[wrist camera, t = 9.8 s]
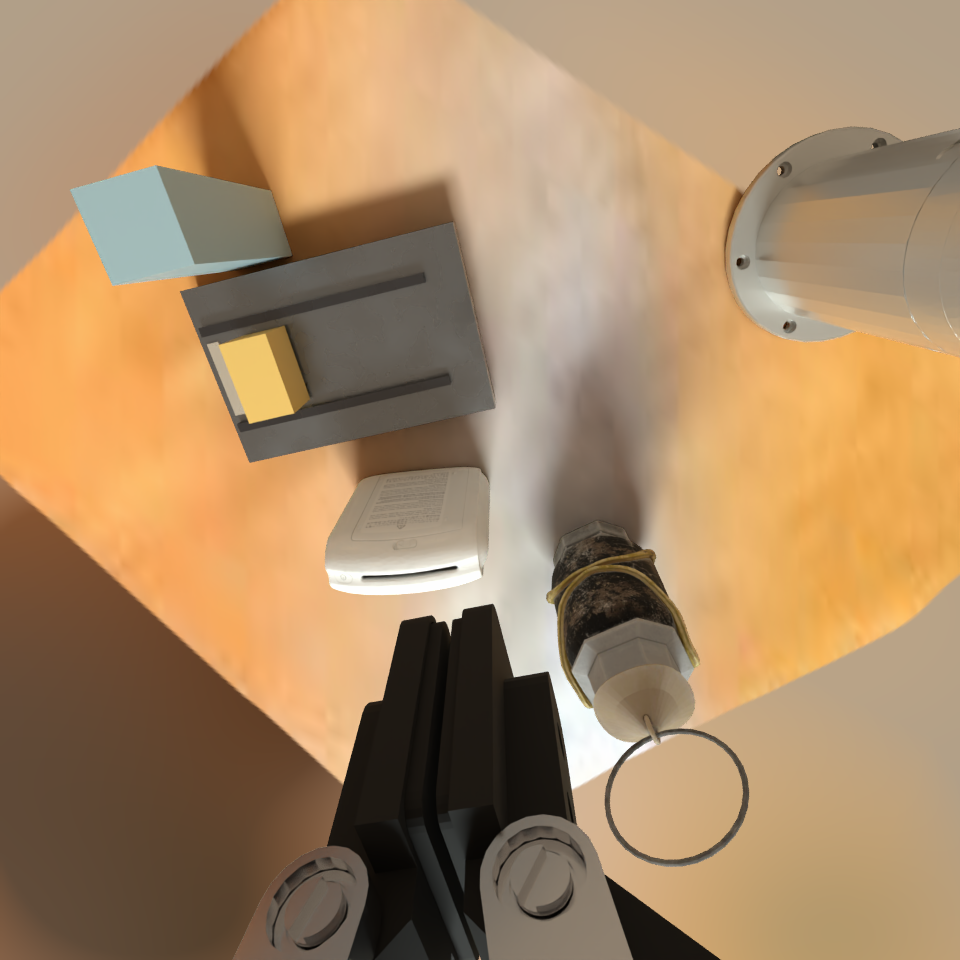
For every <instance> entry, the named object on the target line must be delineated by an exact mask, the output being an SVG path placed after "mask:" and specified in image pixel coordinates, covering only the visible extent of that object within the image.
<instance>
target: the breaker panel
mask: <svg viewBox="0 0 960 960" xmlns="http://www.w3.org/2000/svg"><path fill="white" fill-rule="evenodd" d="M180 293H181V295H182V298H183V300H184V302H185V305H186V307H187V310H188V312H189V315H190V317H191V320H192V322H193V325H194V327H195V330H196V332H197V334H198V337H199V339H200V342H201V344H202V347H203V349H204V352H205V354H206V357H207V359H208V362H209V364H210V366H211V369H212V371H213V374H214V376H215V379H216V381H217V384H218V386H219V389H220V391H221V394H222V396H223V398H224V401H225V403H226V406H227V408H228V411H229V413H230V416H231V418H232V421H233V423H234V426H235V428H236V430H237V433H238V435H239V438H240V440H241V443H242V445H243V448H244V450H245V453H246V455H247V457H248V460H249V462H250V463H251V462H255V461H260V460H264V459H269V458H273V457H278V456H282V455H287V454H291V453H296V452H300V451H305V450H309V449H314V448H318V447H323V446H327V445H332V444H336V443H341V442H345V441H350V440H354V439H359V438H363V437H368V436H372V435H377V434H381V433H386V432H390V431H395V430H399V429H404V428H408V427H413V426H418V425H422V424H427V423H431V422H436V421H440V420H445V419H449V418H454V417H458V416H463V415H467V414H472V413H476V412H481V411H485V410H490V409H494V408H495V396H494V392H493V388H492V383H491V379H490V375H489V370H488V366H487V361H486V357H485V353H484V348H483V344H482V339H481V335H480V331H479V326H478V322H477V318H476V313H475V309H474V304H473V300H472V296H471V291H470V287H469V282H468V278H467V274H466V269H465V265H464V261H463V256H462V252H461V247H460V243H459V239H458V234H457V230H456V226H455V223H454V222H450V223H446V224H442V225H438V226H434V227H430V228H426V229H422V230H419V231H415V232H411V233H407V234H403V235H399V236H395V237H391V238H387V239H383V240H379V241H376V242H372V243H368V244H364V245H360V246H356V247H352V248H348V249H344V250H340V251H337V252H333V253H329V254H325V255H321V256H317V257H313V258H309V259H305V260H301V261H297V262H294V263H290V264H286V265H282V266H278V267H274V268H270V269H266V270H262V271H258V272H254V273H251V274H247V275H243V276H239V277H235V278H231V279H227V280H223V281H219V282H215V283H212V284H208V285H204V286H200V287H196V288H192V289H188V290H184V291H180ZM281 326H285V329H286V331H287V334H288V337H289V340H290V343H291V346H292V349H293V351H294V354H295V357H296V360H297V363H298V366H299V369H300V371H301V374H302V377H303V380H304V383H305V386H306V389H307V392H308V394H309V397H310V400H309V401H308V402H306V403H305V404H304V405H303V406H302V407H301V408H300V409H299V410H298V411H296V412H295V413H294V414H289V415H285V416H281V417H276V418H272V419H267V420H263V421H259V422H254V423H250V424H249V422H248V419H247V417H246V414H245V411H244V409H243V406H242V404H241V401H240V399H239V396H238V394H237V391H236V389H235V386H234V384H233V381H232V379H231V376H230V374H229V371H228V369H227V366H226V363H225V361H224V358H223V356H222V353H221V351H220V348H219V346H218V345H220V344H222V343H225V342H228V341H230V340H233V339H235V338H238V337H240V336H244V335H248V334H252V333H256V332H260V331H264V330H268V329H272V328H276V327H281Z"/></svg>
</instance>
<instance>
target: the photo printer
mask: <svg viewBox="0 0 960 960" xmlns="http://www.w3.org/2000/svg"><path fill="white" fill-rule="evenodd" d="M489 509H490V486H489V482H488V480H487V478H486V477H485V476H484V474H483V473H482V472H481V469H479V468H474V467H454V468H440V469H429V470H418V471H408V472H398V473H389V474H382V475H376V476H371V477H368V478H364V479H362V480H361V481H360V482H359V484H358V485H357V487H356V489H355V491H354V493H353V495H352V496H351V498H350V500H349V502H348V504H347V505H346V507H345V509H344V511H343V513H342V514H341V516H340V518H339V520H338V521H337V523H336V525H335V527H334V529H333V530H332V532H331V534H330V536H329V538H328V541H327V545H326V551H325V568H326V571H327V572H328V576H329V584H330V585H331V587H332V588H334V589H336V590H339V591H343V592H348V593H354V594H368V595H392V594H407V593H419V592H426V591H433V590H439V589H445V588H449V587H454V586H458V585H462V584H465V583H468V582H471V581H473V580H476V579H478V578H480V577H482V576H483V566H484V563H485V561H486V558H487V555H488V541H489Z"/></svg>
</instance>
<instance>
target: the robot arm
mask: <svg viewBox="0 0 960 960" xmlns="http://www.w3.org/2000/svg"><path fill="white" fill-rule="evenodd" d="M872 145H873V146H874V148H873V149H871V147H872ZM778 167H780V168H781V170H782V171H781V174H780V175H779V176H778V174H777V169H778ZM725 258H726V273H727V277H728V282H729V287H730V289H731V291H732V294H733V296H734V298H735V300H736V303H737V304H738V306H739V307H740V308H741V310H742V311H743V312H744V314H745V315H746V316H747V317H748V318H749V319H750V320H751V321H752V322H754V323H755V324H756V325H757V326H758V327H760V328H762V329H764V330H765V331H767V332H769V333H771V334H773V335H776V336H778V337H781V338H784V339H788V340H794V341H800V342H823V341H827V340H832V339H836V338H841V337H843V336H846V335H848V334H851V333H853V332H856V331H857V332H861V333H865V334H869V335H873V336H877V337H881V338H885V339H889V340H893V341H897V342H901V343H905V344H909V345H913V346H917V347H921V348H925V349H929V350H932V351H936V352H940V353H945V354H948V355H952V356H956V357H960V128H959V129H956V130H951V131H947V132H943V133H938V134H934V135H930V136H925V137H921V138H917V139H913V140H908V141H904V142H903V141H901V140H899V139H898V138H896V137H895V136H893V135H891V134H889V133H886V132H883V131H879V130H876V129H873V128H863V127H847V128H839V129H833V130H828V131H825V132H822V133H819V134H815V135H813V136H810V137H808V138H806V139H804V140H802V141H800V142H797V143H795V144H793V145H792V146H790V147H789V148H787V149H786V150H785V151H784V152H782V153H780V154H779V155H778V156H776V157H775V158H774V159H773V160H772V161H771V162H770V163H769V164H768V165H766V166H765V167H764V168H763V169H762V170H761V171H760V172H759V173H758V175H757V176H756V177H755V179H754V180H753V181H752V183H751V184H750V185H749V187H748V188H747V189H746V191H745V193H744V194H743V196H742V198H741V200H740V202H739V204H738V206H737V208H736V210H735V212H734V215H733V218H732V221H731V224H730V227H729V230H728V236H727V243H726V249H725ZM738 258H740V259H741V264H740V265H739V266H737V265H736V262H737V259H738ZM785 322H787V326H786V327H785V328H783V325H784V324H785ZM479 955H480V957H481V960H720V959H719V958H718V957H716V956H715V955H714V954H712V953H711V952H709V951H708V950H707V949H705V948H704V947H703V946H701V945H700V944H699V943H697V942H696V941H694V940H693V939H692V938H690V937H689V936H688V935H686V934H685V933H683V932H682V931H681V930H680V929H678V928H677V927H675V926H674V925H673V924H671V923H670V922H669V921H667V920H666V919H665V918H663V917H662V916H660V915H659V914H658V913H656V912H655V911H654V910H652V909H651V908H650V907H648V906H647V905H646V904H644V903H643V902H641V901H640V900H638V899H637V898H636V897H635V896H633V895H632V894H631V893H629V892H628V891H626V890H625V889H624V888H622V887H621V886H620V885H618V884H617V883H616V882H614V881H613V880H612V879H610V878H609V877H607V876H606V875H604V872H603V869H602V866H601V863H600V860H599V857H598V854H597V852H596V850H595V848H594V846H593V844H592V843H591V841H590V839H589V837H588V836H587V835H586V834H585V833H584V832H583V831H582V830H581V829H580V828H579V827H578V826H577V823H576V816H575V810H574V803H573V796H572V789H571V783H570V776H569V769H568V762H567V756H566V750H565V744H564V738H563V733H562V727H561V722H560V717H559V713H558V708H557V704H556V699H555V695H554V691H553V687H552V682H551V678H550V675H549V672H543V673H537V674H532V675H526V676H520V677H513V673H512V669H511V665H510V662H509V658H508V654H507V650H506V646H505V643H504V639H503V635H502V631H501V627H500V624H499V620H498V616H497V613H496V609H495V607H494V605H493V604H490V605H484V606H479V607H474V608H468V609H464V610H463V612H462V618H459V619H454V620H453V622H452V631H451V636H450V632H449V629H448V626H447V624H446V622H445V621H443V622H438V623H436V620H435V618H434V617H433V616H432V615H431V616H426V617H420V618H415V619H410V620H404V621H402V622H401V625H400V628H399V633H398V637H397V641H396V646H395V650H394V654H393V659H392V663H391V667H390V672H389V676H388V680H387V685H386V689H385V693H384V698H383V700H382V701H376V702H371V703H368V704H367V705H366V706H365V708H364V711H363V714H362V717H361V721H360V725H359V728H358V732H357V736H356V740H355V743H354V747H353V751H352V755H351V758H350V762H349V766H348V770H347V773H346V777H345V781H344V785H343V788H342V792H341V796H340V799H339V804H338V807H337V811H336V814H335V818H334V822H333V826H332V829H331V833H330V837H329V841H328V845H327V847H323V848H317V849H315V850H313V851H310V852H308V853H306V854H304V855H302V856H300V857H299V858H298V859H296V860H295V861H294V862H292V863H291V864H289V865H288V866H287V867H285V869H284V870H283V871H282V872H281V873H280V874H279V875H278V876H277V877H276V878H275V879H274V881H273V882H272V883H271V884H270V886H269V888H268V889H267V891H266V893H265V894H264V896H263V898H262V899H261V901H260V904H259V905H258V907H257V909H256V912H255V914H254V916H253V918H252V920H251V922H250V924H249V926H248V929H247V931H246V933H245V935H244V937H243V940H242V941H241V943H240V945H239V948H238V950H237V952H236V954H235V956H234V958H233V960H478V959H479Z"/></svg>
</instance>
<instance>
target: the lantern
mask: <svg viewBox="0 0 960 960" xmlns="http://www.w3.org/2000/svg"><path fill="white" fill-rule="evenodd" d="M655 559H656V555H655V552H654V551H653V550H651V549H646V550H643V549H642V548H641V547H640V546H638V545H636V544H635V543H633V542H632V541H630V540H629V538H628V536H627V534H626V532H625V530H624V528H622V527H619V526H615V525H612V524H609V523H605V522H602V521H599V520H596V521H594V522H592V523H590V524H587V525H585V526H583V527H581V528H579V529H577V530H575V531H572V532H570V533H568V534H566V535H564V536H562V537H561V540H560V543H559V545H558V548H557V551H556V554H555V556H554V559H553V561H554V566H555V569H554V572H553V576H552V590H551V591H550V592H548V593H547V597H546V599H547V601H548V603H551V604H555V608H556V613H557V617H558V621H557V626H558V646H559V654H560V660H561V666H562V668H563V671H564V673H565V676H566V678H567V680H568V681H569V683H570V684H571V686H572V687H573V689H574V690H575V692H576V694H577V695H578V697H579V699H580V700H581V702H582V703H583V705H584V706H585V707H587V708H589V709H590V708H594V711H595V715H596V717H597V719H598V721H599V723H600V724H601V725H602V727H603V728H604V729H605V730H606V731H607V732H608V733H609V734H610V735H612V736H613V737H615V738H616V739H619V740H622V741H626V742H637V743H635V744H634V745H633V746H631V747H630V748H629V749H628V750H627V751H626V752H625V753H624V754H623V755H622V756H621V758H620V759H619V760H618V762H617V763H616V764H615V766H614V768H613V770H612V772H611V774H610V776H609V779H608V783H607V786H606V792H605V810H606V817H607V820H608V823H609V826H610V828H611V830H612V832H613V834H614V836H615V837H616V839H617V840H618V841H619V842H620V844H621V845H622V846H623V847H624V848H625V849H626V850H627V851H629V852H630V853H632V854H633V855H634V856H636V857H637V858H640V859H642V860H644V861H646V862H649V863H651V864H656V865H661V866H666V867H669V866H670V867H673V866H675V867H676V866H686V865H690V864H695V863H698V862H701V861H703V860H705V859H707V858H709V857H712V856H713V855H714V854H716V853H717V852H719V851H720V850H721V849H723V848H724V847H725V846H726V845H727V844H728V843H729V842H730V841H731V840H732V838H733V837H734V836H735V835H736V833H737V832H738V830H739V828H740V827H741V825H742V823H743V821H744V818H745V814H746V811H747V808H748V800H749V788H748V779H747V776H746V773H745V770H744V767H743V765H742V764H741V762H740V760H739V759H738V757H737V756H736V754H735V753H734V752H733V751H732V750H731V749H730V748H729V747H728V746H727V745H726V744H725V743H723V742H722V741H720V740H719V739H717V738H716V737H714V736H711V735H709V734H707V733H705V732H701V731H697V730H693V729H679V728H680V727H681V726H683V725H684V724H685V723H686V722H687V721H688V720H689V719H690V717H691V716H692V714H693V711H694V709H695V699H694V694H693V691H692V689H691V686H690V685H689V683H688V682H687V681H688V679H689V677H690V675H691V673H692V672H693V670H694V668H695V667H697V666H699V665H700V659H699V657H698V654H697V652H696V650H695V648H694V646H693V644H692V642H691V640H690V638H689V635H688V632H687V628H686V625H685V623H684V620H683V617H682V615H681V614H680V612H679V610H678V609H677V607H676V606H675V604H674V603H673V602H672V601H671V600H670V598H669V597H668V594H667V592H666V590H665V588H664V585H663V583H662V581H661V579H660V576H659V574H658V572H657V570H656V567H655V565H654V562H655ZM673 734H691V735H696V736H700V737H704V738H706V739H708V740H710V741H713V742H715V743H716V744H717V745H719V746H720V747H722V748H723V749H724V750H725V751H726V752H727V753H728V754H729V755H730V756H731V758H732V759H733V761H734V762H735V764H736V766H737V767H738V770H739V773H740V776H741V779H742V786H743V799H742V806H741V809H740V812H739V815H738V818H737V820H736V821H735V823H734V825H733V827H732V828H731V830H730V831H729V832H728V833H727V834H726V835H725V837H724V838H723V839H722V840H721V841H720V842H718V843H717V844H716V845H714V846H713V847H712V848H710V849H709V850H708V851H705V852H703V853H700V854H698V855H696V856H693V857H689V858H684V859H680V860H664V859H659V858H653V857H650V856H648V855H645V854H643V853H641V852H639V851H637V850H636V849H635V848H633V847H632V846H630V845H629V844H628V843H627V842H626V841H625V840H624V838H623V837H622V836H621V835H620V833H619V832H618V830H617V828H616V826H615V825H614V822H613V818H612V815H611V811H610V792H611V788H612V784H613V781H614V778H615V776H616V774H617V772H618V770H619V768H620V767H621V765H622V764H623V763H624V761H625V760H626V759H627V758H628V757H629V756H630V755H631V754H632V753H633V752H634V751H635V750H636V749H638V748H639V747H641V746H642V745H644V744H645V743H647V742H649V741H651V740H653V741H654V742H655V743H656V744H657V745H659V744H660V737H663V736H666V735H673Z"/></svg>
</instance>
